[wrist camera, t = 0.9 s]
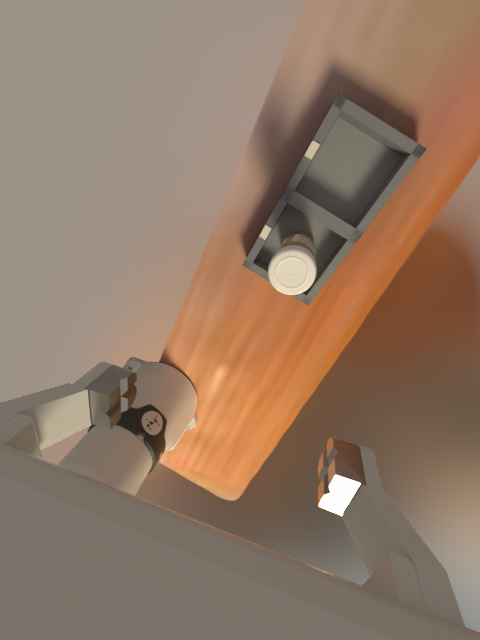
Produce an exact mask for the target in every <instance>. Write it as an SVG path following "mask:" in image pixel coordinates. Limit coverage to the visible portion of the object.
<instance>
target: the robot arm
mask: <svg viewBox="0 0 480 640" xmlns="http://www.w3.org/2000/svg"><path fill="white" fill-rule="evenodd" d="M196 407H197V395H196V391H195V389H194V387H193V385H192V384H191V382H190V381H189V380H188V379H187V377H186V376H185V375H183V374H182V373H181V372H180V371H178V370H177V369H175V368H173V367H171V366H169V365H167V364H163V363H159V362H145V361H143V360H140V359H138V358H134V357H132V358H130V359H129V360H128V361H127V363H126V364H125V366H124V367H123V368H121V367H118V366H115V365H112V364H108V363H106V362H101V363H99V364H98V365H96V366H95V367H94V368H93V369H91V370H90V371H89V372H87V373H86V374H85V375H84V376H83V377H81V378H80V379H79V380H77V381H76V382H75V383H74V384H70V383H69V384H65V385H61V386H58V387H54V388H51V389H47V390H44V391H40V392H37V393H34V394H30V395H27V396H23V397H20V398H16V399H13V400H9V401H6V402H2V403H0V640H480V633H479V632H477V631H474V630H471V629H469V628H467V627H465V625H464V622H463V619H462V616H461V613H460V610H459V607H458V604H457V602H456V599H455V595H454V592H453V590H452V587H451V584H450V581H449V578H448V575H447V572H446V570H445V569H444V568H443V566H442V565H441V563H440V562H439V561H438V560H437V558H436V557H435V556H434V554H433V553H432V552H431V550H430V549H429V548H428V547H427V545H426V544H425V542H424V541H423V540H422V539H421V537H420V536H419V535H418V533H417V532H416V531H415V529H414V528H413V527H412V525H411V524H410V523H409V521H408V520H407V519H406V517H405V516H404V515H403V514H402V512H401V511H400V510H399V508H398V507H397V506H396V504H395V503H394V502H393V500H392V499H391V498H390V497H389V495H388V494H387V493H384V492H383V490H382V486H381V481H380V477H379V472H378V468H377V464H376V459H375V455H374V452H373V450H371V449H368V448H365V447H362V446H359V445H358V446H357V445H355V444H352V443H349V442H346V441H343V440H339V439H337V438H333V437H331V438H330V439H329V440H328V442H327V450H325V451H323V453H322V455H321V457H320V461H319V467H318V477H319V479H320V481H321V483H320V485H319V487H318V506H320V507H322V508H324V509H327V510H330V511H332V512H335V513H337V514H340V515H342V518H343V520H344V522H345V524H346V526H347V529H348V531H349V533H350V535H351V537H352V539H353V541H354V543H355V545H356V547H357V549H358V551H359V553H360V555H361V558H362V559H363V562H364V564H365V566H366V568H367V570H368V572H369V574H370V576H371V577H370V578H369V579H368V580H367V581H366V582H365V583H364V584H363V585H362V586H361V585H358V584H356V583H353V582H351V581H348V580H346V579H343V578H340V577H338V576H336V575H333V574H331V573H328V572H326V571H323V570H320V569H318V568H315V567H313V566H310V565H308V564H305V563H303V562H300V561H298V560H295V559H293V558H290V557H288V556H285V555H283V554H280V553H278V552H275V551H273V550H270V549H268V548H265V547H263V546H260V545H258V544H255V543H253V542H250V541H247V540H245V539H242V538H240V537H237V536H235V535H232V534H230V533H227V532H225V531H222V530H220V529H217V528H215V527H212V526H210V525H207V524H205V523H202V522H200V521H197V520H195V519H192V518H189V517H187V516H184V515H182V514H179V513H177V512H174V511H171V510H169V509H167V508H164V507H162V506H159V505H157V504H154V503H152V502H149V501H147V500H144V499H142V498H139V497H137V496H135V495H136V493H137V491H138V490H139V488H140V486H141V484H142V483H143V481H144V479H145V477H146V476H147V474H149V473H150V472H151V471H152V470H153V469H154V467H155V466H156V465H157V464H158V462H159V461H160V459H161V457H162V454H163V453H164V452H167V451H169V450H173V449H174V448H175V446H176V445H177V443H178V442H179V440H180V438H181V437H182V435H183V434H184V432H185V431H186V430H188V429H192V428H194V427H195V426H196V424H197V417H196V413H195V412H196ZM91 424H92V425H91ZM90 425H91V426H90ZM88 426H90V428H89V430H88V433H87V434H86V435H85V436H84V437H83V438H82V439H81V441H80V442H79V443H78V444H77V445H76V446H75V447H74V448H73V449H72V450H71V451H70V452H69V453H68V454H67V455H66V456H65V457H64V458H63V460H62V461H61V462H60V463H59V464H58V465H56V464H54V463H51V462H48V461H46V460H43V458H42V454H41V450H42V449H44V448H46V447H48V446H50V445H52V444H54V443H56V442H58V441H60V440H62V439H64V438H66V437H68V436H70V435H72V434H74V433H76V432H78V431H80V430H82V429H84V428H86V427H88Z"/></svg>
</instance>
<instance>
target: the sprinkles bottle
mask: <svg viewBox="0 0 480 640" xmlns="http://www.w3.org/2000/svg"><path fill="white" fill-rule="evenodd" d="M316 270H317V267H316V261H315V242H314V240H313V238H312V237H311V236H310V235H309V234H308V233H306V232H303V231H295V232H292V233H290V234H289V235H287V236H286V238H285V239H284V240H283V242H282V244H281V246H280V248H279V250H278V251H277V252H276V253H275V254H274V256H273V257H272V259H271V261H270V264H269V267H268V277H269V280H270V282H271V284H272V286H273V287H274V288H275V289H276V290H278V291H279V292H281V293H283V294H287V295H297V294H300V293H303V292H305V291H306V290H307V289H309V288H310V287H311V285H312V284H313V282H314V280H315V277H316Z"/></svg>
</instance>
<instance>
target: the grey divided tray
mask: <svg viewBox="0 0 480 640" xmlns="http://www.w3.org/2000/svg"><path fill="white" fill-rule="evenodd" d="M425 150H426V148H425V147H423V146H421V145H420V144H418V143H417V142H415V141H413V140H412V139H410V138H409V137H407V136H406V135H404V134H402V133H401V132H399V131H398V130H396V129H394V128H393V127H391V126H390V125H388V124H386V123H385V122H383V121H382V120H380V119H378V118H377V117H375V116H374V115H372V114H370V113H369V112H367V111H366V110H364V109H363V108H361V107H359V106H358V105H356V104H355V103H353V102H351V101H350V100H348V99H347V98H345V97H343V96H342V95H340V94H338V95H337V97H336V99H335V101H334V103H333V104H332V106H331V108H330V110H329V112H328V113H327V115H326V117H325V119H324V121H323V122H322V124H321V126H320V128H319V129H318V131H317V133H316V135H315V137H314V138H313V140H312V142H311V144H310V146H309V147H308V149H307V151H306V153H305V155H304V156H303V158H302V160H301V162H300V164H299V165H298V167H297V169H296V171H295V172H294V174H293V176H292V178H291V180H290V181H289V183H288V185H287V187H286V189H285V190H284V192H283V194H282V196H281V198H280V199H279V201H278V203H277V205H276V206H275V208H274V210H273V212H272V214H271V215H270V217H269V219H268V221H267V223H266V224H265V226H264V228H263V230H262V232H261V233H260V235H259V237H258V239H257V240H256V242H255V244H254V246H253V248H252V249H251V251H250V253H249V255H248V257H247V258H246V260H245V262H244V264H243V266H245V267H247V268H248V269H250V270H252V271H253V272H255V273H256V274H258V275H260V276H261V277H263V278H264V279H266V280H268V281H269V282H270V280H269V277H268V267H269V264H270V261H271V259H272V257H273V256H274V254H275V253H276V252H277V251H278V250H279V248H280V246H281V244H282V242H283V240H284V239H285V238H286V236H287V235H289V234H290V233H292V232H295V231H303V232H306V233H308V234H309V235H310V236H311V237H312V238H313V240H314V242H315V261H316V267H317V270H316V277H315V280H314V282H313V284H312V285H311V287H310V288H309V289H307V290H306V291H305V292H303V293H300V294H297V295H292V296H294V297H295V298H297V299H299V300H300V301H302V302H303V303H305V304H307V305H308V306H309V304H310V303H311V302H312V300H313V299H314V298H315V296H316V295H317V294H318V292H319V291H320V290H321V288H322V287H323V286H324V284H325V283H326V282H327V280H328V279H329V278H330V276H331V275H332V274H333V272H334V271H335V270H336V268H337V267H338V266H339V264H340V263H341V262H342V260H343V259H344V258H345V256H346V255H347V254H348V253H349V251H350V250H351V249H352V247H353V246H354V245H355V243H356V242H357V241H358V239H359V238H360V237H361V235H362V234H363V233H364V231H365V230H366V229H367V227H368V226H369V225H370V223H371V222H372V221H373V219H374V218H375V217H376V215H377V214H378V213H379V211H380V210H381V209H382V207H383V206H384V205H385V203H386V202H387V201H388V199H389V198H390V197H391V196H392V194H393V193H394V192H395V190H396V189H397V188H398V186H399V185H400V184H401V182H402V181H403V180H404V178H405V177H406V176H407V174H408V173H409V172H410V170H411V169H412V168H413V166H414V165H415V164H416V162H417V161H418V160H419V158H420V157H421V156H422V154H423V153H424V152H425Z"/></svg>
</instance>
